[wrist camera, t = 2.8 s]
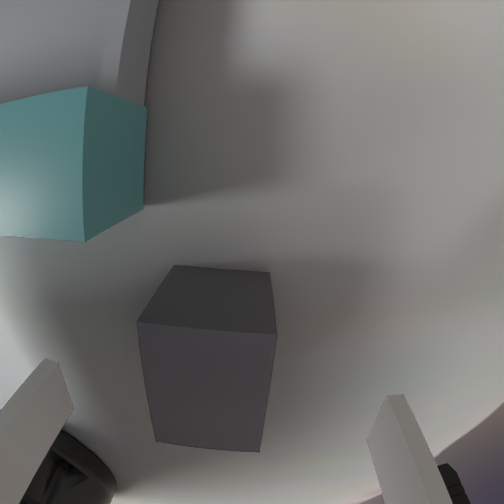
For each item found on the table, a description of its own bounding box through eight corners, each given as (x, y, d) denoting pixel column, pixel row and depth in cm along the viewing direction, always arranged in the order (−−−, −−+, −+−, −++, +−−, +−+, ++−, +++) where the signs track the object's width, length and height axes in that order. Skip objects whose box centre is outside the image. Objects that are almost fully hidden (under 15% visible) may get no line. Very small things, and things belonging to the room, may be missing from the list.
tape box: (258, 376, 19) (259, 452, 13) (178, 369, 18) (155, 441, 13) (269, 272, 16) (277, 334, 11) (174, 264, 16) (136, 321, 11)
